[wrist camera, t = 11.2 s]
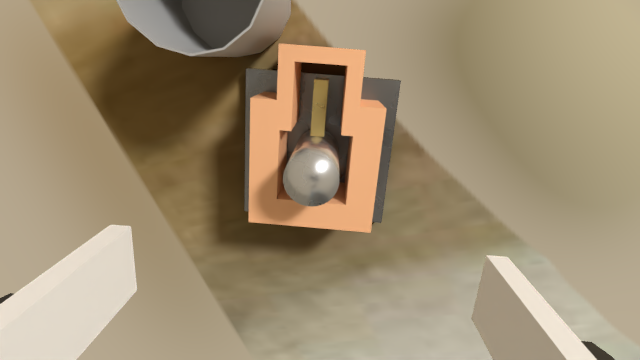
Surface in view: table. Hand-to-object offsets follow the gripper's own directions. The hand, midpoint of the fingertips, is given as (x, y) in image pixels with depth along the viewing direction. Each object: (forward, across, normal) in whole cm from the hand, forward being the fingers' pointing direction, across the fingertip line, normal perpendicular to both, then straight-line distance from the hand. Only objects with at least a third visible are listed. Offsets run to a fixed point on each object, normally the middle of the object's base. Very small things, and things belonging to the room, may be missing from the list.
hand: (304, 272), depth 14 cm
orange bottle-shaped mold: (+18, 0, +2) cm, 18 cm away
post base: (+19, 0, 0) cm, 19 cm away
